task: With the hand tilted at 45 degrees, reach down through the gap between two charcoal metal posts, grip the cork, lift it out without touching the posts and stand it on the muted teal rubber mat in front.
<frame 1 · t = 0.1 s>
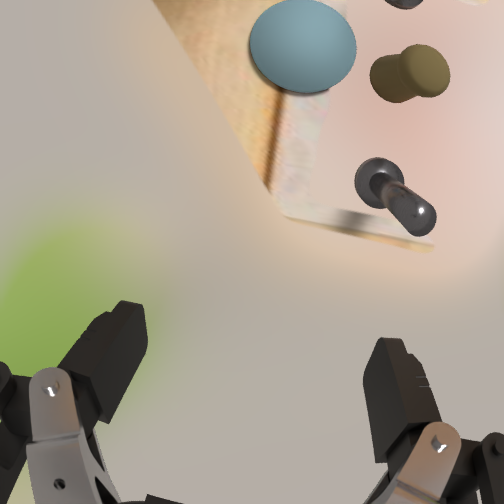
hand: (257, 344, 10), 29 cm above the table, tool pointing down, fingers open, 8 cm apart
teal mat: (303, 44, 30), on the table
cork: (393, 79, 30), on the table
gap posts: (393, 78, 30), on the table
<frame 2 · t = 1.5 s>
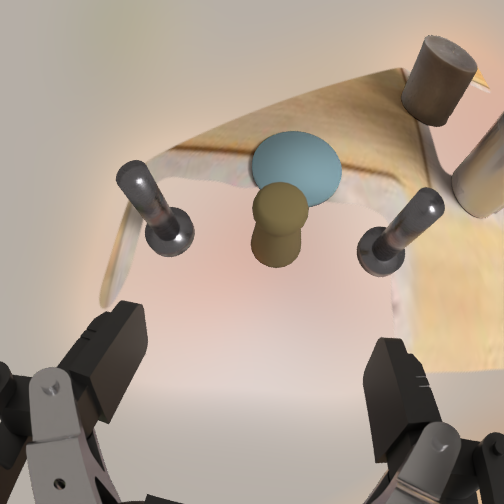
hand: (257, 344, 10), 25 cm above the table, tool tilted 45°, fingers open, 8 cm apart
teal mat: (296, 168, 41), on the table
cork: (275, 244, 38), on the table
gap posts: (276, 243, 38), on the table
pillar candle: (423, 107, 46), on the table
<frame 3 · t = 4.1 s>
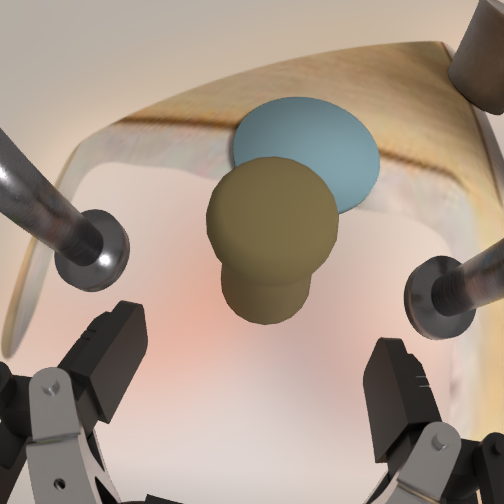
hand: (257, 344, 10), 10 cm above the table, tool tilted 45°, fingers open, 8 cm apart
teal mat: (307, 152, 25), on the table
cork: (265, 280, 21), on the table
gap posts: (265, 279, 21), on the table
pillar candle: (475, 89, 29), on the table
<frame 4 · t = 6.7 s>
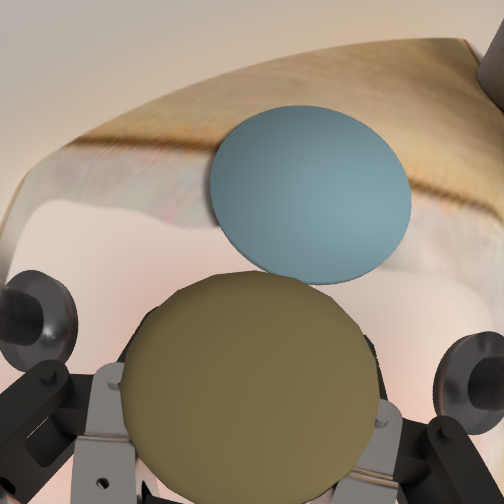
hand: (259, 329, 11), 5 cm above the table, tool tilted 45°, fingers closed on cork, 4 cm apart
teal mat: (313, 185, 18), on the table
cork: (253, 375, 15), on the table, touching gripper
gap posts: (253, 376, 15), on the table
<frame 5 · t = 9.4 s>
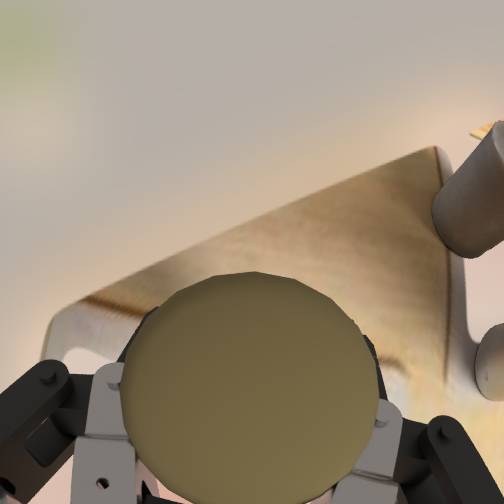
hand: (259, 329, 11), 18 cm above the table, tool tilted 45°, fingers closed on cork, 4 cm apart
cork: (252, 375, 15), point 13 cm above the table, touching gripper
pillar candle: (460, 221, 32), on the table
when the fingers open (7 cm above the table, at t = 12.0 s): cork drops 1 cm, resting on teal mat.
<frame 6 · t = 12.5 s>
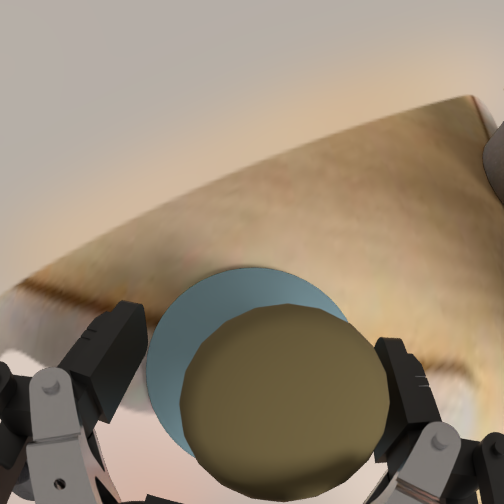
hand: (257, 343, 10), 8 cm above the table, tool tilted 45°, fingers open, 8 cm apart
teal mat: (253, 373, 17), on the table
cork: (269, 381, 16), point 1 cm above the table, touching teal mat
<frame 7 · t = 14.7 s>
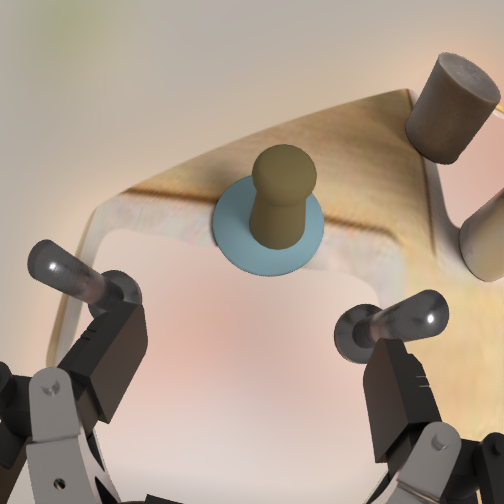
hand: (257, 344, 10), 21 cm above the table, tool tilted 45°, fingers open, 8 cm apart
teal mat: (268, 223, 34), on the table
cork: (277, 224, 34), point 1 cm above the table, touching teal mat
gap posts: (235, 321, 31), on the table
pillar candle: (431, 139, 39), on the table
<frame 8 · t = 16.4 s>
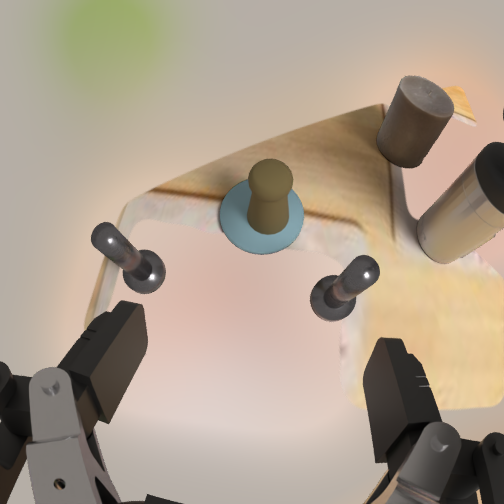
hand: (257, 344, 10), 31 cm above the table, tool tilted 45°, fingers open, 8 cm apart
teal mat: (261, 215, 46), on the table
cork: (268, 215, 45), point 1 cm above the table, touching teal mat
gap posts: (235, 287, 42), on the table
pillar candle: (399, 147, 50), on the table
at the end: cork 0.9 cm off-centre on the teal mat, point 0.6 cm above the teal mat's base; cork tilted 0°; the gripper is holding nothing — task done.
